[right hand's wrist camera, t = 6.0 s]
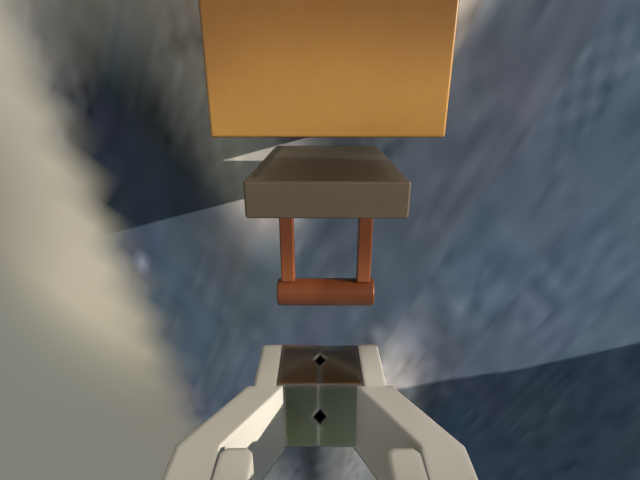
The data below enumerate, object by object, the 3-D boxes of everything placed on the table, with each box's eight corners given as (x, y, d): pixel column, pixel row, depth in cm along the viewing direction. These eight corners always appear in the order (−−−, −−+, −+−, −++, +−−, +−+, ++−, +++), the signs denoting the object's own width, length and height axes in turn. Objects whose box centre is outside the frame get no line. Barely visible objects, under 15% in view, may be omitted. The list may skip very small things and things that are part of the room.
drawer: (370, 268, 23) (396, 368, 14) (280, 267, 23) (255, 367, 14) (395, -245, 15) (480, -653, 7) (260, -243, 15) (184, -647, 7)
